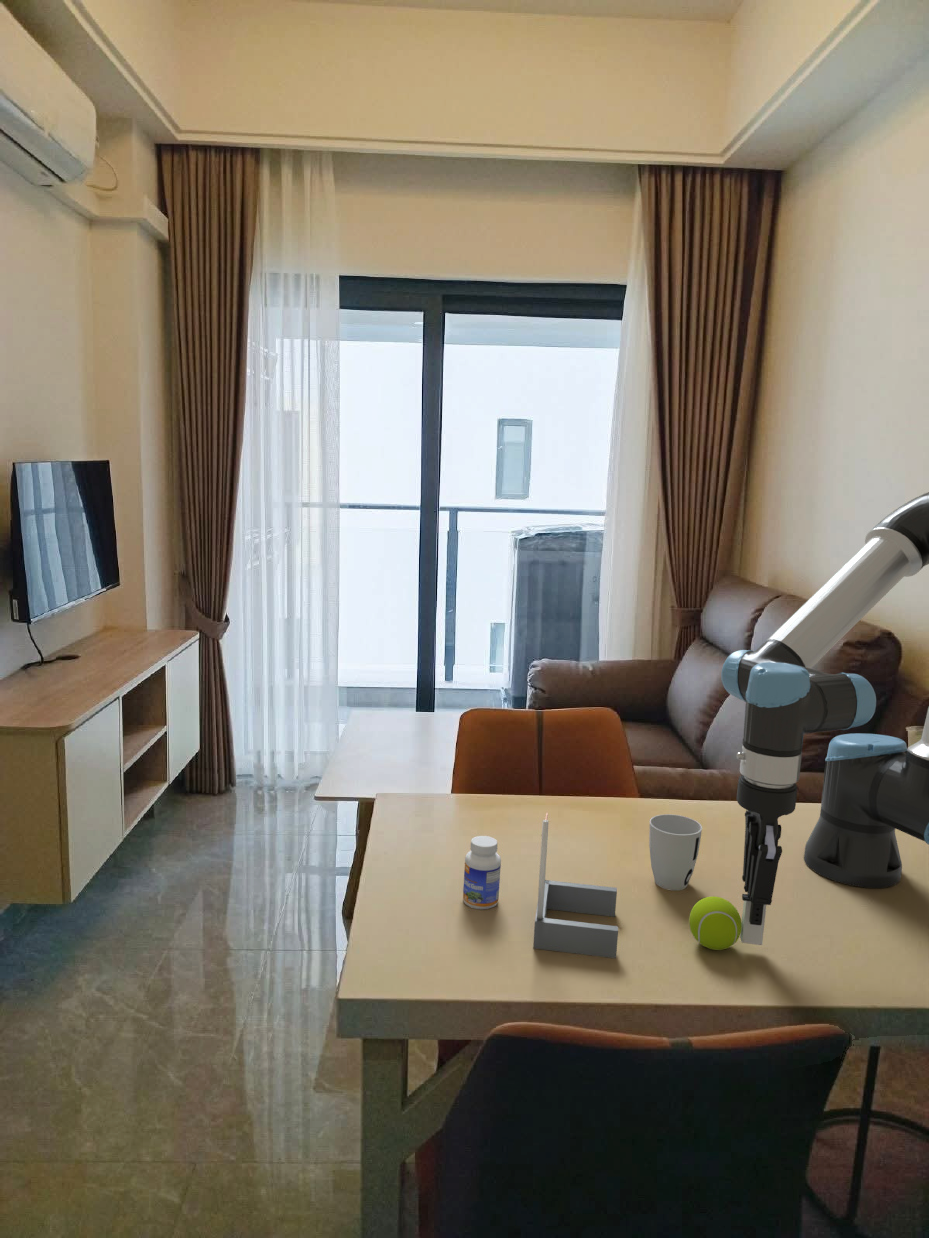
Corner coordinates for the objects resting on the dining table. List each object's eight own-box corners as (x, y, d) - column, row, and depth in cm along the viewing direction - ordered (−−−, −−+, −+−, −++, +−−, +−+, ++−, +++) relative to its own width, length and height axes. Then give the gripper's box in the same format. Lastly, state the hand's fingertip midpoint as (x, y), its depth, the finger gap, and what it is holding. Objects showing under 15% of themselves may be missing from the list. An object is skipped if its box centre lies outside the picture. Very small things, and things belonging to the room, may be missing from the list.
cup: (698, 898, 135) (703, 837, 133) (644, 891, 136) (649, 831, 135) (695, 874, 143) (700, 817, 141) (644, 868, 144) (649, 811, 142)
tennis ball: (742, 962, 117) (747, 915, 116) (689, 956, 118) (694, 909, 117) (734, 935, 124) (739, 890, 123) (684, 930, 125) (689, 885, 124)
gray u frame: (614, 912, 129) (623, 798, 126) (616, 958, 117) (625, 832, 114) (539, 904, 131) (546, 790, 128) (533, 948, 119) (540, 824, 116)
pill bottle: (455, 900, 131) (457, 839, 129) (480, 889, 135) (483, 830, 133) (481, 914, 127) (484, 852, 126) (506, 902, 131) (509, 841, 129)
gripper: (731, 760, 123) (716, 914, 127) (747, 793, 110) (730, 963, 114) (786, 765, 122) (769, 920, 126) (809, 799, 109) (789, 970, 113)
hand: (751, 940), depth 120 cm, fingers closed
